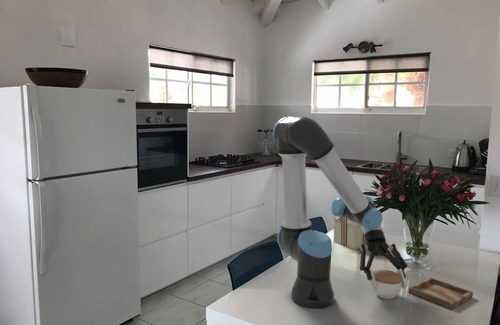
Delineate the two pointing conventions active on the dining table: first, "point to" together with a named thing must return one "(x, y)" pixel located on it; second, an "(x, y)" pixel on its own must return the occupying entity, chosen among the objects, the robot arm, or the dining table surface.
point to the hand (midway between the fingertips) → (389, 288)
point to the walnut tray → (441, 293)
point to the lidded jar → (387, 283)
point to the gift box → (348, 233)
